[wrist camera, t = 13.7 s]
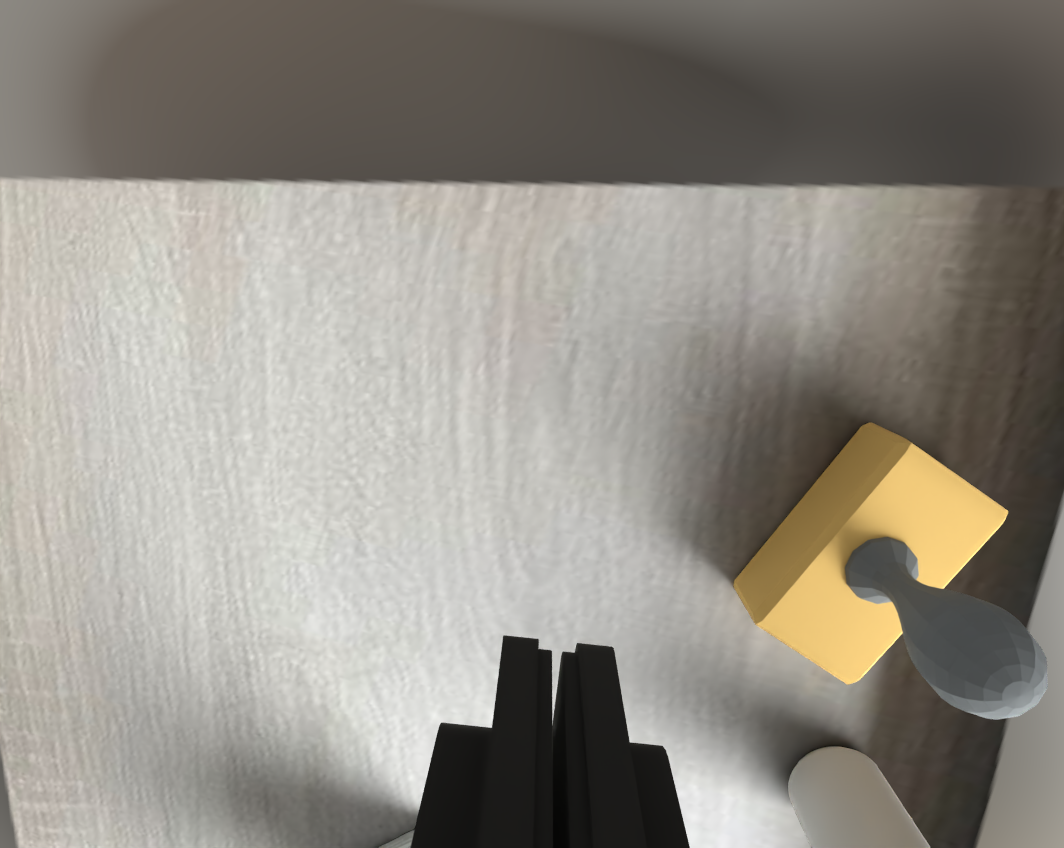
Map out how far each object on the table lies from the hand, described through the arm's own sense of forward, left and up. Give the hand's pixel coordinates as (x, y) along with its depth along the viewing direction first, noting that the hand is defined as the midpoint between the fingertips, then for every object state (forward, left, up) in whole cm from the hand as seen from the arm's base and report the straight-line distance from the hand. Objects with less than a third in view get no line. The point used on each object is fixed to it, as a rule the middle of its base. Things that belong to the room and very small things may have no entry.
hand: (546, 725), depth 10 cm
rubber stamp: (+4, +14, -21) cm, 25 cm away
